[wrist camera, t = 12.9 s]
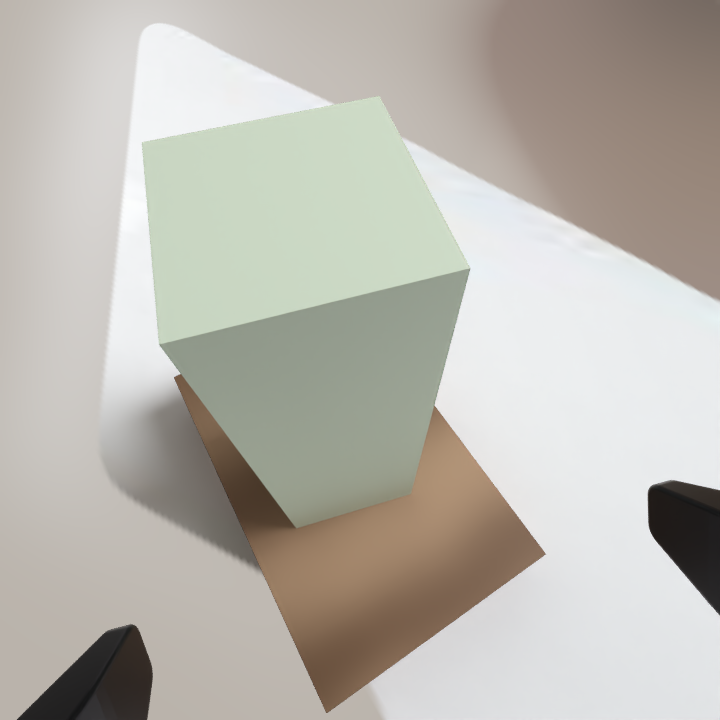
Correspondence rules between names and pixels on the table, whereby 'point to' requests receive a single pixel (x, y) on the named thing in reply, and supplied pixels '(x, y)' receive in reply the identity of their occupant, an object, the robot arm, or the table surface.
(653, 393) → the table surface
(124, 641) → the robot arm
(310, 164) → the block
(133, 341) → the table surface
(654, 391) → the table surface
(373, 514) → the plinth
